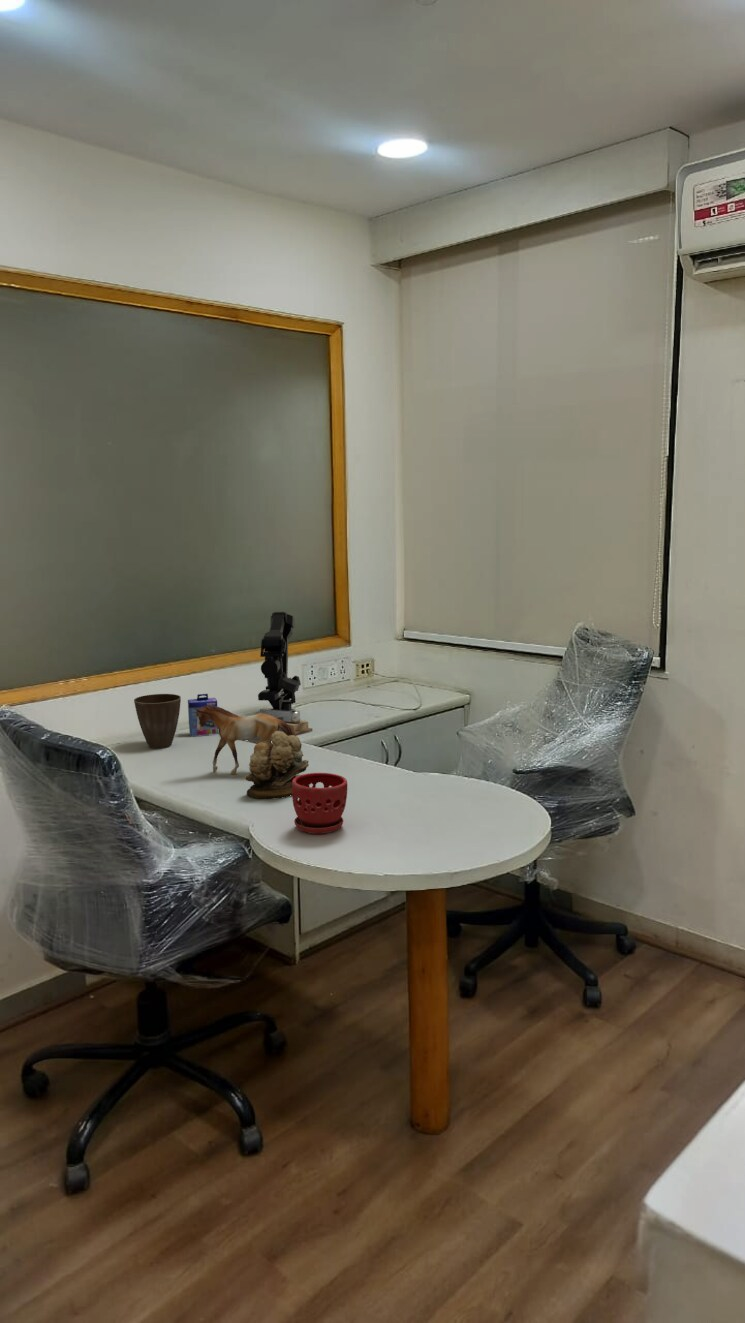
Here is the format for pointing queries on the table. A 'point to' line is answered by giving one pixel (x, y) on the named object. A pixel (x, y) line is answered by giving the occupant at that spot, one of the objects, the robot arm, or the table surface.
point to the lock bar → (282, 714)
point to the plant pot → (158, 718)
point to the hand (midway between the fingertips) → (278, 714)
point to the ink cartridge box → (196, 703)
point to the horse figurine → (239, 728)
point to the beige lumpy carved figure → (275, 767)
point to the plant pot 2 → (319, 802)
